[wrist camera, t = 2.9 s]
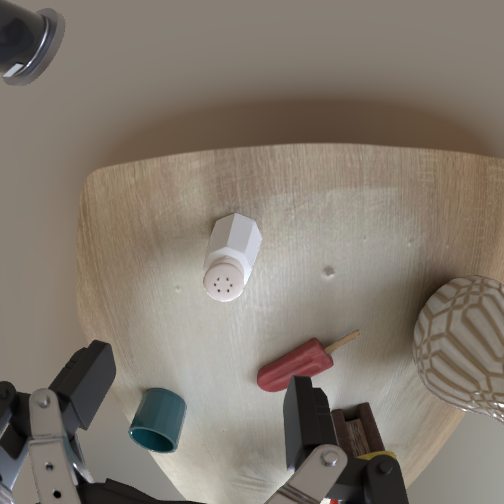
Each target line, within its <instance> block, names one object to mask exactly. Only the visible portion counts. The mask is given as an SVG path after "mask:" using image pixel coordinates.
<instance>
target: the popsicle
mask: <svg viewBox="0 0 504 504" xmlns="http://www.w3.org/2000/svg"><path fill="white" fill-rule="evenodd" d="M359 334H360V331H359V330H355V331H353V332H352V333H350V334H348V335H347V336H345V337H344V338H342V339H340V340H339V341H337V342H335V343H333V344H332V345H330V346H328V347H327V348H324V347H323V346H322V345H321V343H320V342H319V341H318V340H317V339H316V338H314V339H312V340H310V341H308V342H307V343H305V344H304V345H302V346H300V347H299V348H297V349H295V350H293V351H292V352H290V353H288V354H287V355H285V356H283V357H281V358H280V359H278V360H276V361H274V362H272V363H271V364H269V365H267V366H265V367H264V368H262V369H261V370H260V371H259V373H258V375H257V384H258V386H259V387H260V388H261V389H263V390H265V391H268V392H278V391H281V390H284V389H286V388H288V385H289V382H290V379H291V376H292V375H304V376H310V377H312V376H314V375H316V374H318V373H321V372H323V371H325V370H327V369H329V368H330V367H332V366H333V365H334V364H333V360H332V357H331V356H330V355H329V353H330V352H332V351H334V350H336V349H337V348H339V347H341V346H343V345H344V344H346V343H348V342H349V341H351V340H353V339H354V338H356V337H357V336H359Z"/></svg>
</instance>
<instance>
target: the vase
mask: <svg viewBox="0 0 504 504" xmlns="http://www.w3.org/2000/svg"><path fill="white" fill-rule="evenodd" d="M413 357H414V363H415V366H416V369H417V372H418V374H419V377H420V379H421V381H422V382H423V384H424V385H425V386H426V388H427V389H428V390H429V391H430V392H431V393H432V394H433V395H435V396H436V397H437V398H438V399H440V400H441V401H442V402H444V403H446V404H447V405H449V406H451V407H454V408H457V409H460V410H463V411H467V412H473V413H479V414H485V415H488V416H490V417H492V418H494V419H495V420H497V421H499V422H500V423H502V424H503V425H504V285H503V284H502V283H500V282H498V281H496V280H494V279H492V278H489V277H486V276H479V275H469V276H463V277H459V278H456V279H453V280H451V281H450V282H448V283H446V284H445V285H443V286H442V287H440V288H439V289H438V290H437V291H436V292H435V293H434V294H433V295H432V296H431V297H430V298H429V300H428V301H427V302H426V304H425V305H424V307H423V308H422V310H421V312H420V314H419V317H418V319H417V322H416V325H415V328H414V333H413Z"/></svg>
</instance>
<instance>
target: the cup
mask: <svg viewBox="0 0 504 504" xmlns="http://www.w3.org/2000/svg"><path fill="white" fill-rule="evenodd" d="M186 410H187V406H186V404H185V402H184V400H183V399H182V398H181V397H179V396H178V395H177V394H175V393H173V392H171V391H168V390H165V389H160V388H152V389H149V390H147V391H146V392H145V393H144V395H143V397H142V400H141V402H140V405H139V407H138V409H137V412H136V414H135V417H134V419H133V421H132V424H131V427H130V429H129V431H128V433H129V436H130V438H131V439H132V440H133V441H134V442H135V443H137V444H138V445H140V446H141V447H143V448H145V449H148V450H150V451H153V452H158V453H172V452H175V451H176V449H177V447H178V443H179V439H180V435H181V431H182V427H183V423H184V419H185V415H186Z"/></svg>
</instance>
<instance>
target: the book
mask: <svg viewBox="0 0 504 504" xmlns="http://www.w3.org/2000/svg"><path fill="white" fill-rule="evenodd" d="M331 416H332V421H333V425H334V430H335V435H336V439H337V443H338V446H339V447H340V448H341V449H342V450H343V451H344V452H345V453H346V454H347V455H349V456H351V457H355V458H360V459H366V460H371V459H372V458H373V457H374V456H376V455H380V454H386V455H390V456H392V457H394V458H395V459H396V456H395V455H394V453H392V452H390V451H385V448H384V445H383V442H382V439H381V436H380V434H379V431H378V428H377V425H376V422H375V419H374V416H373V414H372V411H371V408H370V405H369V403H367V402H366V403H362V404H360V405H358V412H357V419H356V420H352V421H348V422H345V419H344V415H343V411H342V409H337V410H333V411H332V412H331ZM396 460H397V459H396ZM338 504H341V501H340V500H338Z"/></svg>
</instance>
